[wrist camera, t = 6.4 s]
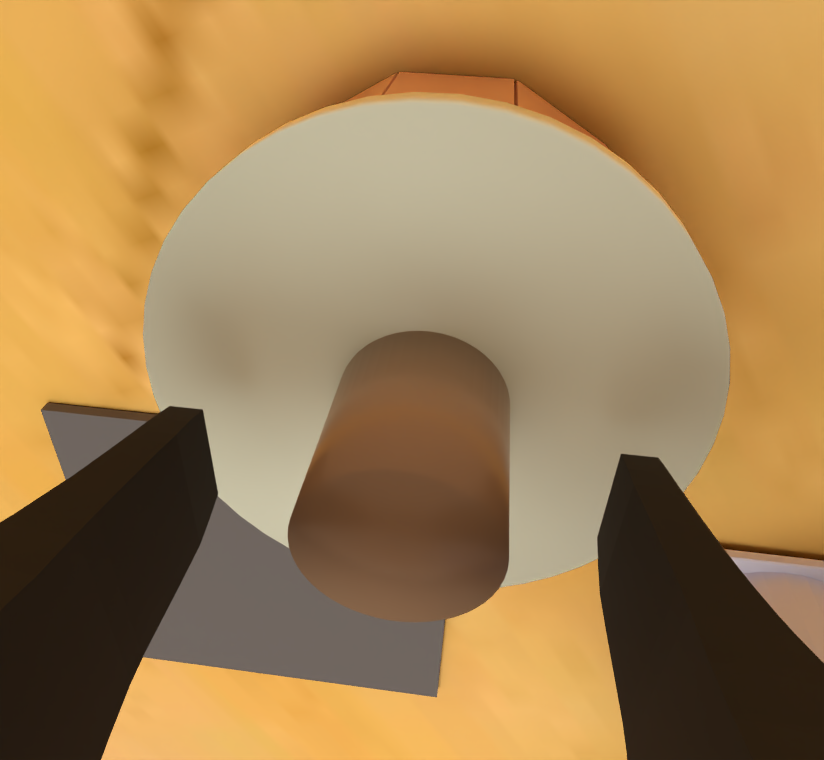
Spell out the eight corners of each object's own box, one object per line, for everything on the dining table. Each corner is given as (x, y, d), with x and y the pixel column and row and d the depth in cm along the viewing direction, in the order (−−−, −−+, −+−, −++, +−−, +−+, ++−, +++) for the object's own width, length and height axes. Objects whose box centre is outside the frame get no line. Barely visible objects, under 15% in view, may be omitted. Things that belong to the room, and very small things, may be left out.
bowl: (681, 89, 15) (736, 148, 11) (595, 436, 21) (612, 549, 17) (243, 61, 16) (161, 108, 12) (277, 403, 22) (229, 504, 18)
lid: (826, 136, 11) (997, 261, 7) (629, 596, 18) (661, 786, 14) (115, 54, 12) (-85, 128, 8) (191, 529, 19) (105, 694, 15)
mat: (462, 447, 22) (462, 455, 21) (437, 688, 30) (436, 697, 29) (47, 402, 23) (40, 409, 22) (132, 647, 31) (128, 655, 30)
